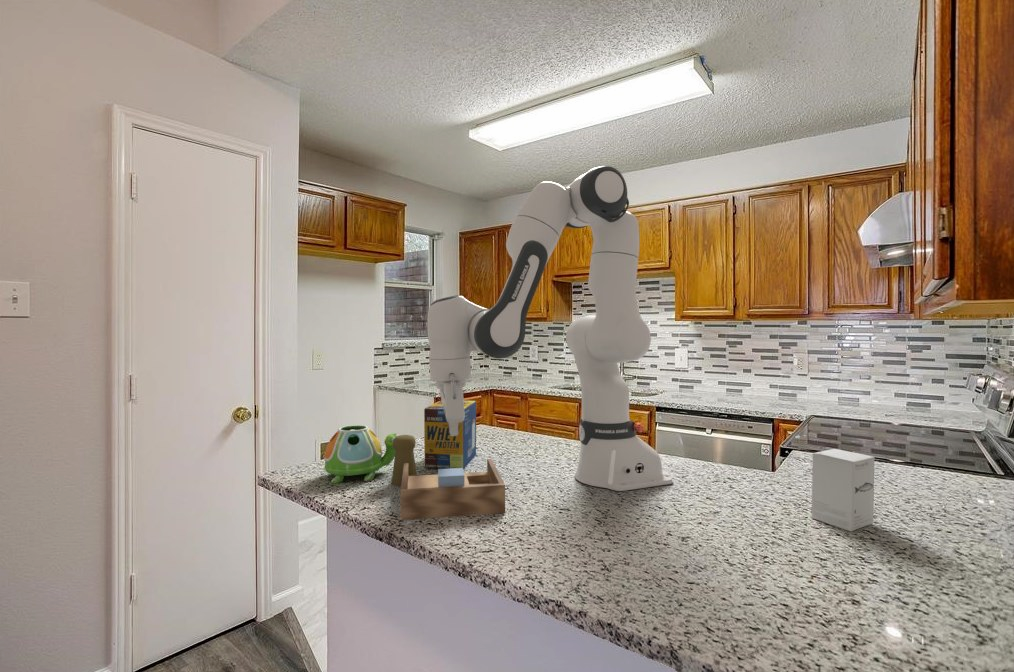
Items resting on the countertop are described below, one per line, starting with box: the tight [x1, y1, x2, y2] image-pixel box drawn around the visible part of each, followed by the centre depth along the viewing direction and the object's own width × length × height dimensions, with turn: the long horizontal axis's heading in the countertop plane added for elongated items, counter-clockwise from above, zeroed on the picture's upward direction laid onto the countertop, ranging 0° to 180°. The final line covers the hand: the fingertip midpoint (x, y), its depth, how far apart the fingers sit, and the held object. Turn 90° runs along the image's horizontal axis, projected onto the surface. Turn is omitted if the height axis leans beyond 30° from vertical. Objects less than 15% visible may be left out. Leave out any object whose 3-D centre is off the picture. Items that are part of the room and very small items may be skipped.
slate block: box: [437, 468, 465, 487], centre depth 98 cm, size 5×5×5 cm
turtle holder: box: [323, 424, 399, 484], centre depth 121 cm, size 12×18×12 cm
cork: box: [391, 434, 418, 488], centre depth 115 cm, size 6×6×11 cm
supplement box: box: [811, 448, 876, 532], centre depth 91 cm, size 7×7×13 cm
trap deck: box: [400, 458, 506, 521], centre depth 104 cm, size 20×19×6 cm
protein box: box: [423, 399, 477, 470], centre depth 133 cm, size 10×15×16 cm
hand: (453, 434), depth 107 cm, fingers closed
